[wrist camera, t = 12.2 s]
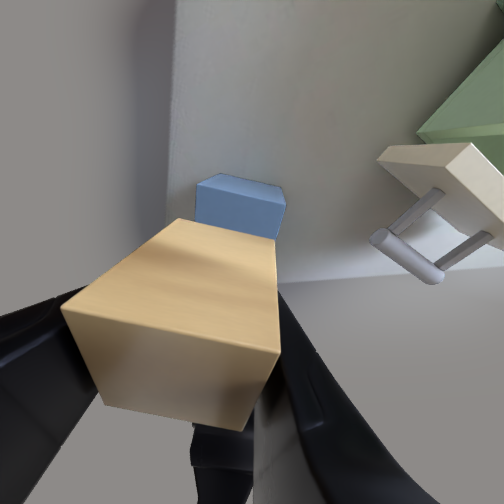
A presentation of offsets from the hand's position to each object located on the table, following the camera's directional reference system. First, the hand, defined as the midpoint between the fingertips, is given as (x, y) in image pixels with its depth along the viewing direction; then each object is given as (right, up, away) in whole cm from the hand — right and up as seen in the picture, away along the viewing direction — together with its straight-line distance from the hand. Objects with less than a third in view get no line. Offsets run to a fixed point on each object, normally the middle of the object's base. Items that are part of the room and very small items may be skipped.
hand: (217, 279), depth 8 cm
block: (0, 0, +1) cm, 1 cm away
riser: (+1, +5, +10) cm, 11 cm away
